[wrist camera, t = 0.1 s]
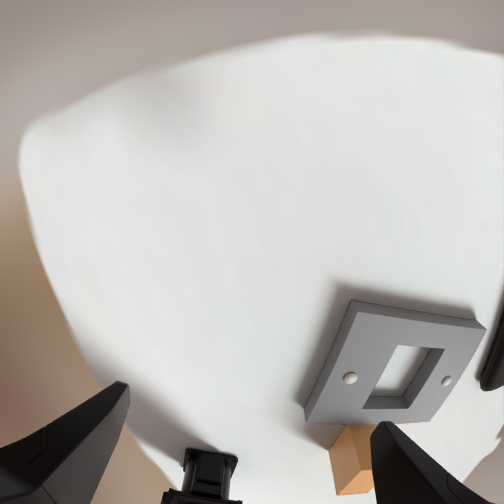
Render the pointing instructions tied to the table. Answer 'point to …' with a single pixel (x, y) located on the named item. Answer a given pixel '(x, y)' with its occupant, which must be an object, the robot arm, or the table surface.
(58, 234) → the table surface
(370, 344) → the socket board
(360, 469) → the plug
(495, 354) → the carrying case or bag
